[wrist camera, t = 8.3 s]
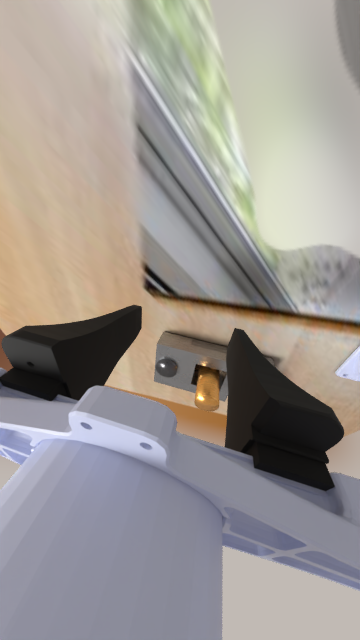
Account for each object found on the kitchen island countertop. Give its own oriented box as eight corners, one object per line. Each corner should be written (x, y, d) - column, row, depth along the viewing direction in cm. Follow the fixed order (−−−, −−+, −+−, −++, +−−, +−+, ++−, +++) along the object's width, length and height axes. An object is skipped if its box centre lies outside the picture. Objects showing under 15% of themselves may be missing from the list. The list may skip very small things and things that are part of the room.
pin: (221, 358, 25) (222, 400, 20) (216, 371, 27) (215, 413, 21) (202, 353, 26) (197, 393, 20) (198, 366, 27) (192, 406, 21)
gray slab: (272, 358, 23) (279, 377, 20) (251, 392, 28) (255, 413, 25) (163, 331, 25) (155, 345, 22) (160, 367, 30) (152, 383, 27)
